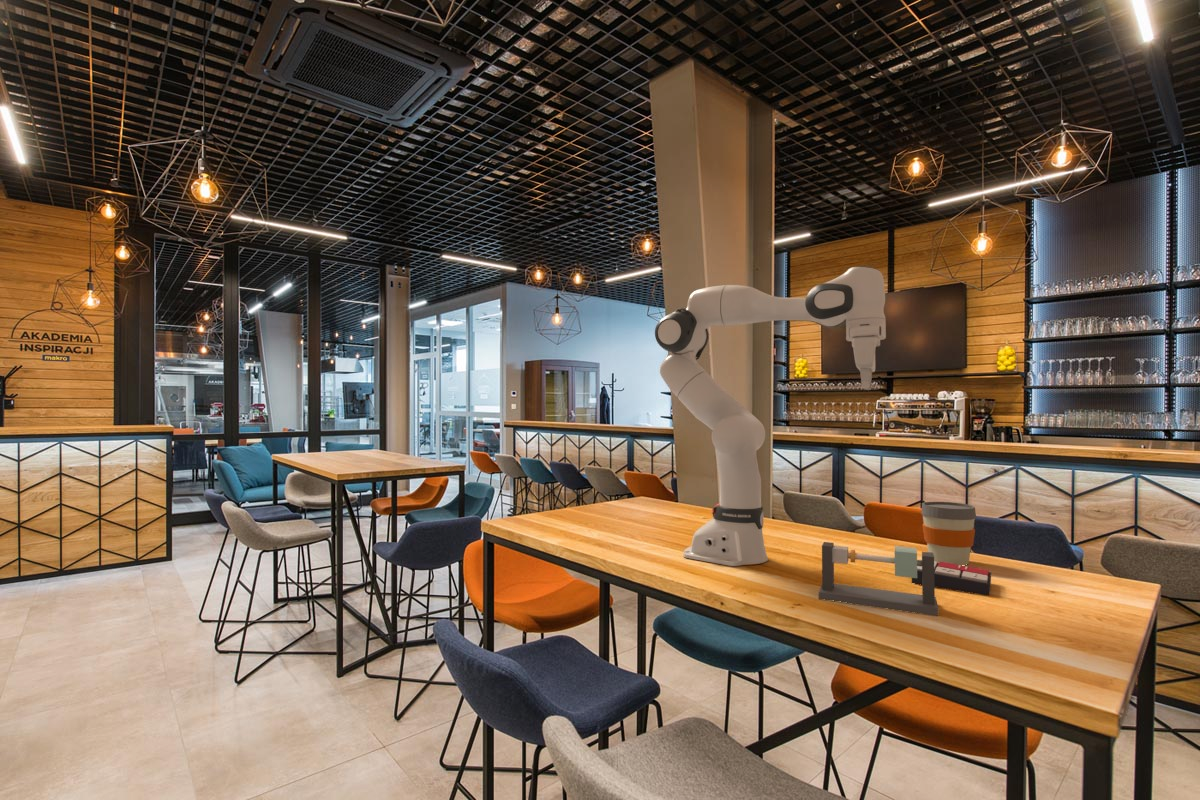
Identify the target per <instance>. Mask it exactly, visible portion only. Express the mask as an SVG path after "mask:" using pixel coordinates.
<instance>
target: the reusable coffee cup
mask: <svg viewBox="0 0 1200 800" xmlns="http://www.w3.org/2000/svg"><path fill="white" fill-rule="evenodd" d="M920 514H921V515H922V521H923V523H922V524H921V525H922V531H923V538H924V541H925V542H926V545H927V552H932V553H933V554H934V561H935V562H937V563H939V562H945V563H951V564H956V565H966V564H968V565H969V564H970V557H971V550H972V549H971V548H972V547H973V546H974V543H975V542H974V541H975V533H976V528H975V520H976V519H977V515H976V514H977V513H976V507H975V505H971V504H968V503H961V502H950V501H925V502H922V503H921V511H920Z"/></svg>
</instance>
